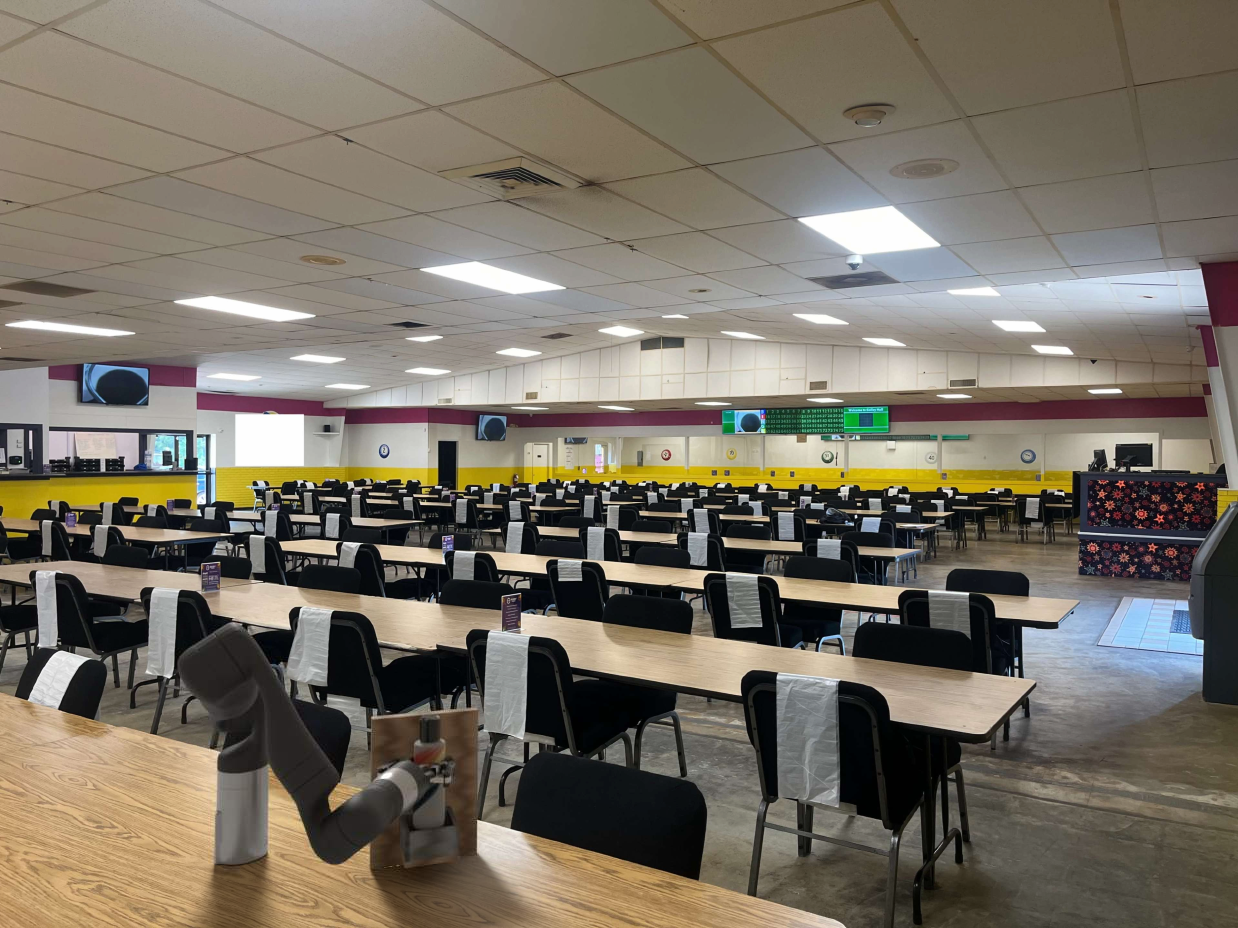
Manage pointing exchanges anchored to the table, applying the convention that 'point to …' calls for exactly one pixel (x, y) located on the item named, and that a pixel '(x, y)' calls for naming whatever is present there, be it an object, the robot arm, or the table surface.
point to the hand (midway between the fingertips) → (434, 759)
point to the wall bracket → (460, 822)
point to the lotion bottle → (433, 750)
